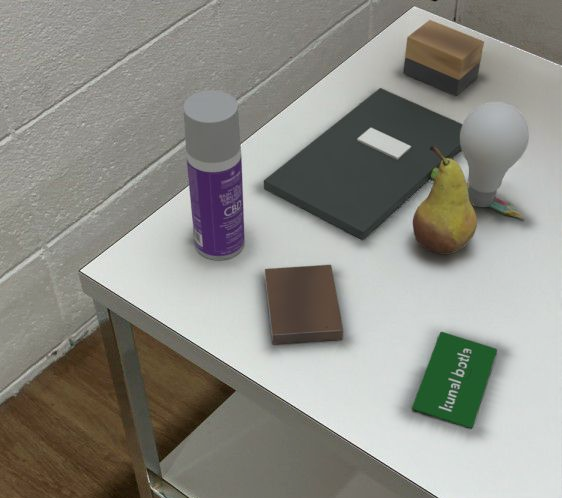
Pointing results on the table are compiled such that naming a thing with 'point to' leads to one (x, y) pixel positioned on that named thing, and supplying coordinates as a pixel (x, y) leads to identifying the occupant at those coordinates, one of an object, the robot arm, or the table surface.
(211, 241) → the container
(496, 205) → the pencil
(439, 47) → the eraser
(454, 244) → the fruit
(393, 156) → the white rectangular block
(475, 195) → the lightbulb
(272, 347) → the table surface
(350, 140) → the board
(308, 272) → the eraser rest
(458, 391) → the business card
